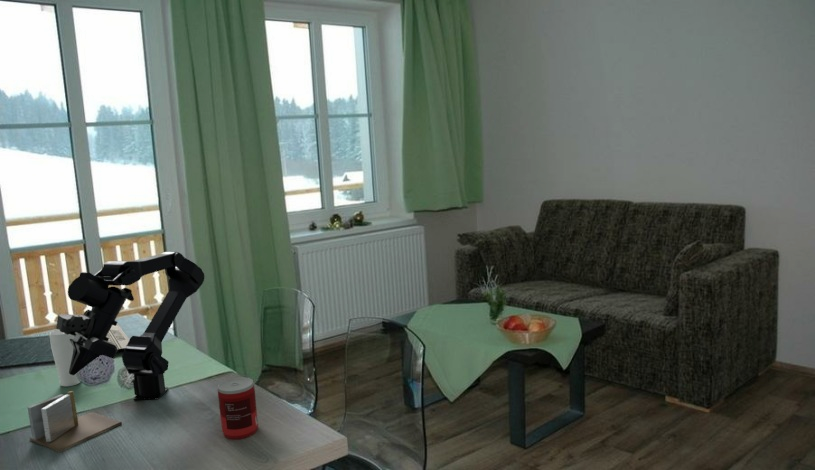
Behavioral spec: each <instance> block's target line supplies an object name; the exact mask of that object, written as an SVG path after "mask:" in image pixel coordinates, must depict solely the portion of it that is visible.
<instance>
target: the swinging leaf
mask: <svg viewBox="0 0 815 470" xmlns="http://www.w3.org/2000/svg"><path fill="white" fill-rule="evenodd" d="M63 395H64V396H62V397H61V398H59V399H57V400H56V401H54V402H52V403H50V404H49V405H47V406H45V407H44V408H42V409H41V412H42V418H43V424H44V430H45V436H46V442H52V441H53V440H55V439H56V438H57V437H59V436H60V435H62V434H63V433H65V432H66V431H68V430H69V429H71V428H72V427H74V426H75V425H74V418H73V412H72V405H71V398H70V395H68V394H63Z"/></svg>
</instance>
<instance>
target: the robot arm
mask: <svg viewBox="0 0 815 470" xmlns="http://www.w3.org/2000/svg"><path fill="white" fill-rule="evenodd" d="M163 270H164V273H165V275H166V276H167V277H168V278H169V279H168V281H167V282H168V292H167V293H166V294H165V297H164V298H163V300H162V301H161V303H160V304H159V306H158V308H157V310H156V311H155V314H154V315H153V317H152V319H151V320H150V321H149V323H148V325H147V326H146V329H145V330H144V332H143V333H142V334H141V335H132V336H131V337H129V339H130V340H129V342H128V344H127V345H126V347H124V348H123V349H122V350H123V352H122V355H121V360H122V363H123V364H122V365H123V366H124V368H125V369H126V370H127V373H128V374H129V375H133V379H132V386H133V391H134V395H135V396H134V397H133V400H134V401H139V400H140V401H143V400H147V401H148V400H158V399H160V398H161V397H162V396H163V395H164V394H165V393H167V391H168V390H169V387H167V386H166V385H165V384H166V383H165V376H164V374H165V372H166V371H168V370H169V360H167V359H166V358H165V357H163V356H162V354H163V345H162V344H163V340H164V338H165V337H166V335H167V333H168V332H169V330H170V328H171V326H172V324H173V323H174V321H175V319H176V317H177V316H178V314H179V312H180V310H181V308H182V306H183V305H184V303H185V301H186V300H187V299H188V298H189V297H191V296H192V295H194V294H195V293H196V292H198V290H199V289H200V288H201V286H202V285H203V284H204V282H205V273H204V271H203V270H202V268H201V267H200V266H198V265H197V264H196V263H195V262H193V261H191V260H190V259H188V258H186V257H185V256H184V255H183V254H182V253H180V252H178V251H163V252H162V253H158V254H154V255H150V256H147V257H143V258H139V259H138V258H137V259H134V260H108V261H106V262H104V263H103V266H102V268H101V269H100V270H98V271H97V272H96V273H95V274H93V273H92V272H89V271H81V272H80V273H79V276H77V277H76V278H75V279H73V281H71V283H70V284H69V286H68V288H67V296H68V298H69V299H70V300H71V301H74V302H77V303H79V304H82V305H85V306H88V307H91V310H90V309H87V310H85V311H84V314H69V313H67V314H63V313H62V314H61V313H60V314H57V320H56V327H55V330H57V329H59V330H60V332H64V333H65V334H67V335H68V334H71V335H74V336H75V337H74V339H70V342H71V344H72V346H73V355H72V360H71V364H70V369H69V374H71V375H75V374H76V373H78V372H79V371H80V370H81V371H82V370H83V369H84V368H85V367H86V366H89V364H90V363H92V362H93V361H95V360H97V359H98V358H97V357H99V356H100V357H101V356H105V357H107V358H109V359H115V357H116V355H117V353H118V352H119V349H117V346H116V345H114V344H113V343H111V342H108V340H109V338H108V337H106V336H107V334H108V332H109V331H110V329H111V327H112V325H114V326H116V325H117V324H118V321H117V320H116V319H117V317H118V315H119V313H120V312H121V310H122V308H123V307H124V304H125V302H126V300H128V301H131V302H134V300H135V298H134V295H133V293H132V289H130V288H128V287H124V288H119V287H116V286H131V285H133V284H134V283H137V282H139V281H140V280H141V279H142V278H143V277H144V276H148V275H149V274H153V273H156V272H159V271H163ZM96 358H97V359H96Z"/></svg>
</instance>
